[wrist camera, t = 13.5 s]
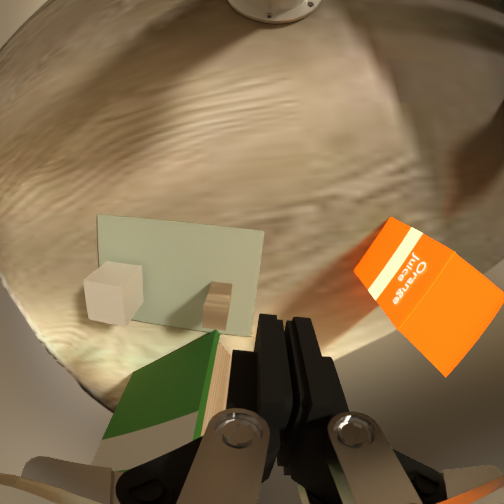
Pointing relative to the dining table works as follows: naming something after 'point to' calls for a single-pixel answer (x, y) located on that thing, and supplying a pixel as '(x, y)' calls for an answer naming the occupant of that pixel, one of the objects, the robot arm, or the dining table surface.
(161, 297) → the mat
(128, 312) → the beige foam cube
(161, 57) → the dining table surface
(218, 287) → the post
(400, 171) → the dining table surface
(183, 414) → the hardback book
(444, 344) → the orange juice
